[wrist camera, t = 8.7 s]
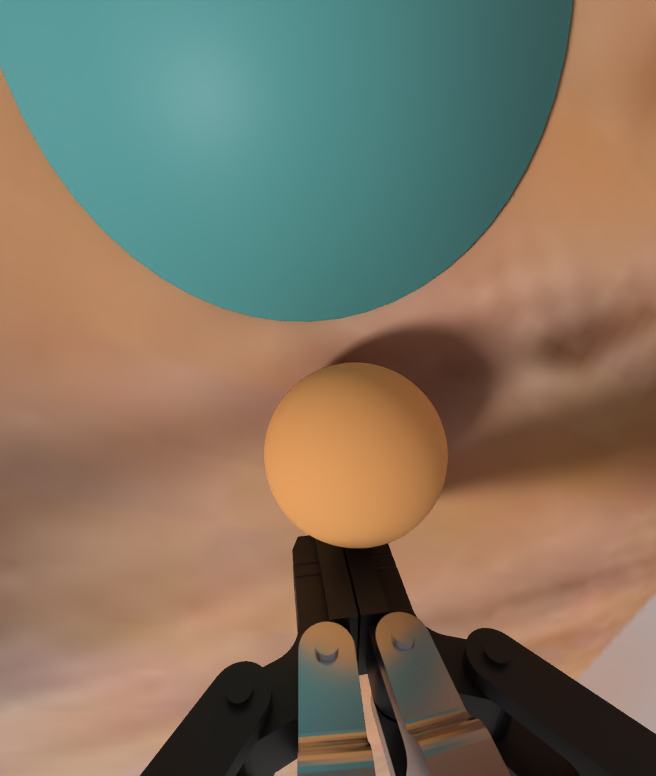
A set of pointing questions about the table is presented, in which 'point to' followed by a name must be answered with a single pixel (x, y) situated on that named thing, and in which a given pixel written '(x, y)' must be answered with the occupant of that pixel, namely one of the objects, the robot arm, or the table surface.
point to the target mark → (288, 134)
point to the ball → (356, 455)
